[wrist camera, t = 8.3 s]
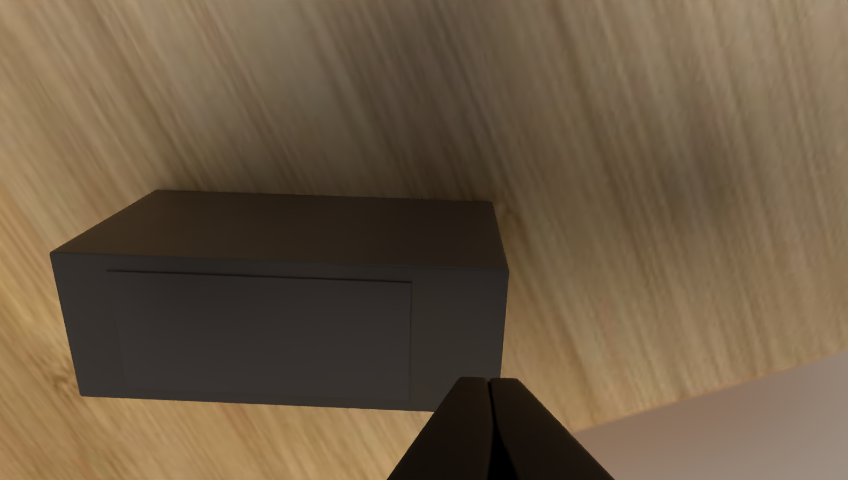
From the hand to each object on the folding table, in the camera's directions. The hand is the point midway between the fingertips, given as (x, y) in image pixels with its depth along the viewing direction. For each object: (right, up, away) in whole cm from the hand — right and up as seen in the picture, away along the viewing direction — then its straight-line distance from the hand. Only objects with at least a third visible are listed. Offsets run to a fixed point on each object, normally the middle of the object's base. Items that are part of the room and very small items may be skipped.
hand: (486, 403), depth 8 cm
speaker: (+1, +1, +10) cm, 10 cm away
